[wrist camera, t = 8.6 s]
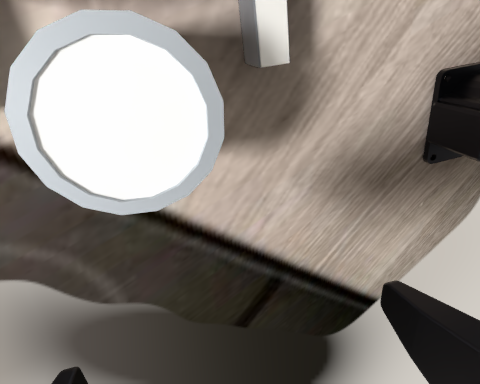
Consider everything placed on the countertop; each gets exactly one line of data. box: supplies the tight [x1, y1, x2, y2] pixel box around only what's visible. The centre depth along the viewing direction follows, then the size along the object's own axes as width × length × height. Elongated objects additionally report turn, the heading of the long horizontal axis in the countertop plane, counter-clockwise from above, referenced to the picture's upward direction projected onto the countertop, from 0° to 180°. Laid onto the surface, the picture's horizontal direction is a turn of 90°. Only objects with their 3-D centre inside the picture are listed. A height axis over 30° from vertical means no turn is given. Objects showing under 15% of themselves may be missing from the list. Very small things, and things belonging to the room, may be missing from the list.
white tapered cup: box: [4, 10, 224, 215], centre depth 13 cm, size 7×7×7 cm
